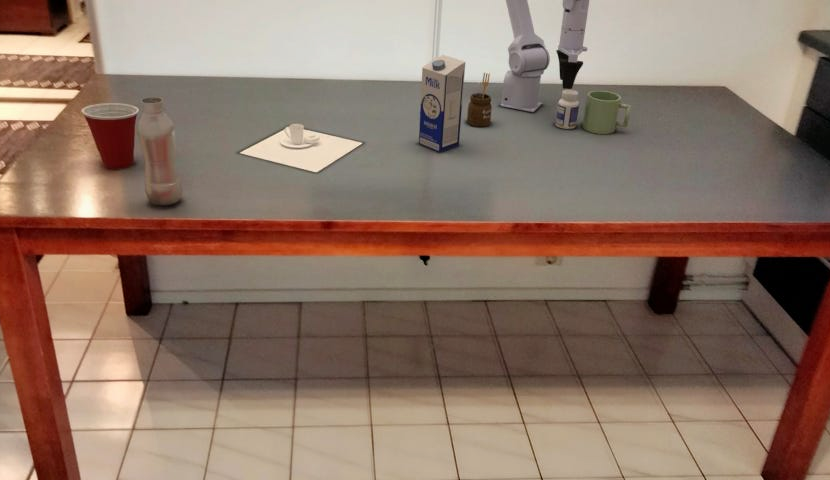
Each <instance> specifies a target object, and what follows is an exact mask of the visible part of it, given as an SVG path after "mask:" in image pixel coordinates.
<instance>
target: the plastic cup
mask: <svg viewBox="0 0 830 480" xmlns="http://www.w3.org/2000/svg"><path fill="white" fill-rule="evenodd" d="M80 112H81V114H82V115H83V117H84V118H85V121H86V122H87V125H88V127H89V130H90V133H91V135H92V138H93V141H94V144H95V147H96V150H97V151H98V154H99V156H100V158H101V161H102V164H103V165H104V167H105V168H108V169H111V170H121V169H126V168H129V167H131V166H133V164H134V159H135V157H134V155H135V154H134V153H135V141H136V140H135V139H136V138H135V137H136V135H135V134H136V120H137V116H138V114H139V112H140V110H139V107H137V106H135V105H132V104H128V103H120V102H118V103H117V102H115V103H114V102H106V103H96V104H91V105H87V106H85V107H83V108H82V109H81V111H80Z"/></svg>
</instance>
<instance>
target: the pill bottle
mask: <svg viewBox="0 0 830 480" xmlns="http://www.w3.org/2000/svg"><path fill="white" fill-rule="evenodd" d="M578 97H579V92H578V90H575V89H563V90H562V92H561V98H560V99H559V100H558V102H557V109H556V116H555V123H554V124H555V126H556V127H557V128H560V129H564V130H573V129H575V128H576V127H577V123H578V122H577V121H578V115H579V108H580V102H579V100H578V99H579V98H578Z"/></svg>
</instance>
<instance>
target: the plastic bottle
mask: <svg viewBox="0 0 830 480" xmlns="http://www.w3.org/2000/svg"><path fill="white" fill-rule="evenodd" d="M140 104H141V112H142V113H143V114H142V116H141V117H140V119H139V121H138V123H137V127H136V132H137V135H138V140H139V143H140V147H141V149H142V154H143V159H144V164H145V165H144V167H145V184H144V186H145V187H144V188H145V190H144V191H145V195H146V197H147V199H148V201H149V202H151V203H152V204H153V205H156V206H169V205H173V204H176V203H178V202H179V201H180V200H181V198H182V197H183V185H182V181H181V178H180V177H179V176H180V175H179V171H178V166H177V161H176V126H175V124H174V122H173V120H172V119H171V118H170V117H169V116H168V115H167V114H166V113H165V110H166V108H165V106H164V100H163V98H161V97H156V96H150V97H145V98H142V99H140Z"/></svg>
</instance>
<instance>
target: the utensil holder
mask: <svg viewBox="0 0 830 480" xmlns="http://www.w3.org/2000/svg"><path fill="white" fill-rule="evenodd" d="M490 76H491V74H490V73H487V72H483V77H482V82H481V81H477V82H476V84H477V85H479V86H480V87H481V85H482V87H483V89H482V92H476V91H475V89H478V88H479V87H478V86H476V85H474V89H473V91H474V92H473V93H472V94H471V95H470V98H469V103H468V106H467V115H466V116H467V117H466V121H467V123H468V124H469V126H472V127H477V128H478V127H479V128H483V127H488V126H489V125H490V123H491V120H492V119H491V118H492V107H493V106H492V104H491V101H492V96H491V95H489V94H487V93H485V92H486V88H487V87H488V86H489V82H490Z"/></svg>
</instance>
